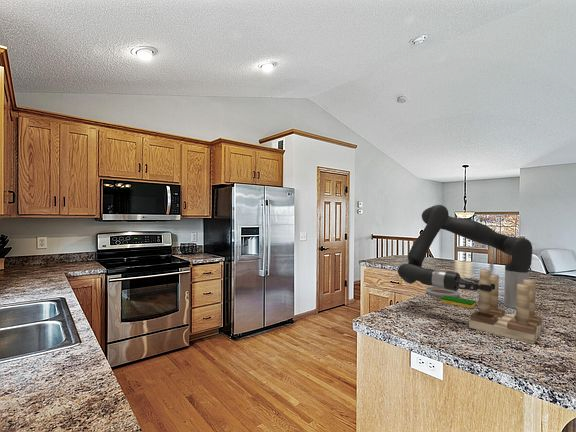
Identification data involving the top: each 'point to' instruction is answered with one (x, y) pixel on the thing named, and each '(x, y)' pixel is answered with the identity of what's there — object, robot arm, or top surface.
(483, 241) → the robot arm
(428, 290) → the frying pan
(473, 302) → the dish sponge
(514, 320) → the stool seat
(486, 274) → the stool leg
